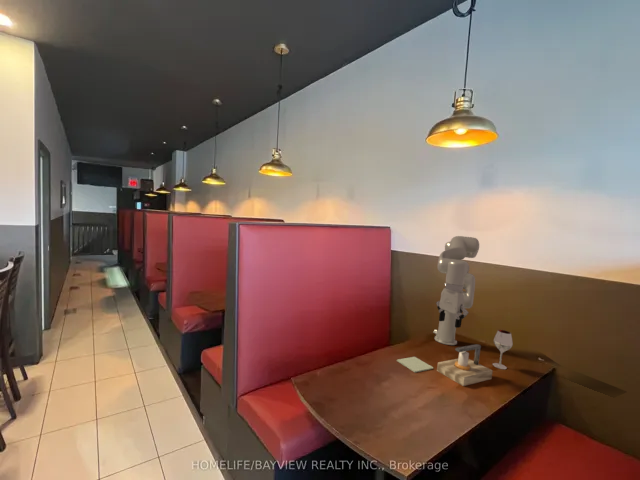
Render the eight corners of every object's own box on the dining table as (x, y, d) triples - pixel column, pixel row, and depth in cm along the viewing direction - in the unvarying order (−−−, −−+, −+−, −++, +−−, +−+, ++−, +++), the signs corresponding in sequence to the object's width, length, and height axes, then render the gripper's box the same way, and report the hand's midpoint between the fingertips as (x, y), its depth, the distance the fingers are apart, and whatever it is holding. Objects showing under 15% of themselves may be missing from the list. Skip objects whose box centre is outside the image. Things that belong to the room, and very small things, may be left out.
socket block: (436, 370, 144) (437, 362, 144) (464, 364, 154) (465, 357, 154) (463, 386, 132) (464, 377, 132) (491, 378, 142) (492, 370, 141)
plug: (450, 372, 143) (453, 350, 142) (459, 370, 146) (462, 348, 146) (462, 379, 137) (465, 356, 137) (471, 377, 141) (474, 354, 140)
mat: (396, 360, 150) (396, 359, 150) (414, 357, 156) (414, 356, 156) (415, 372, 140) (415, 371, 140) (433, 368, 146) (433, 367, 146)
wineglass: (504, 364, 160) (508, 330, 159) (512, 371, 152) (517, 335, 151) (487, 361, 161) (492, 328, 160) (495, 369, 153) (499, 333, 152)
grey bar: (475, 362, 148) (477, 344, 147) (479, 364, 146) (481, 345, 146) (453, 367, 140) (455, 347, 140) (456, 369, 138) (459, 349, 138)
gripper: (433, 283, 150) (429, 318, 151) (465, 292, 135) (460, 331, 136) (444, 283, 153) (439, 317, 154) (476, 291, 138) (471, 329, 139)
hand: (449, 323), depth 145 cm, fingers open, 8 cm apart
